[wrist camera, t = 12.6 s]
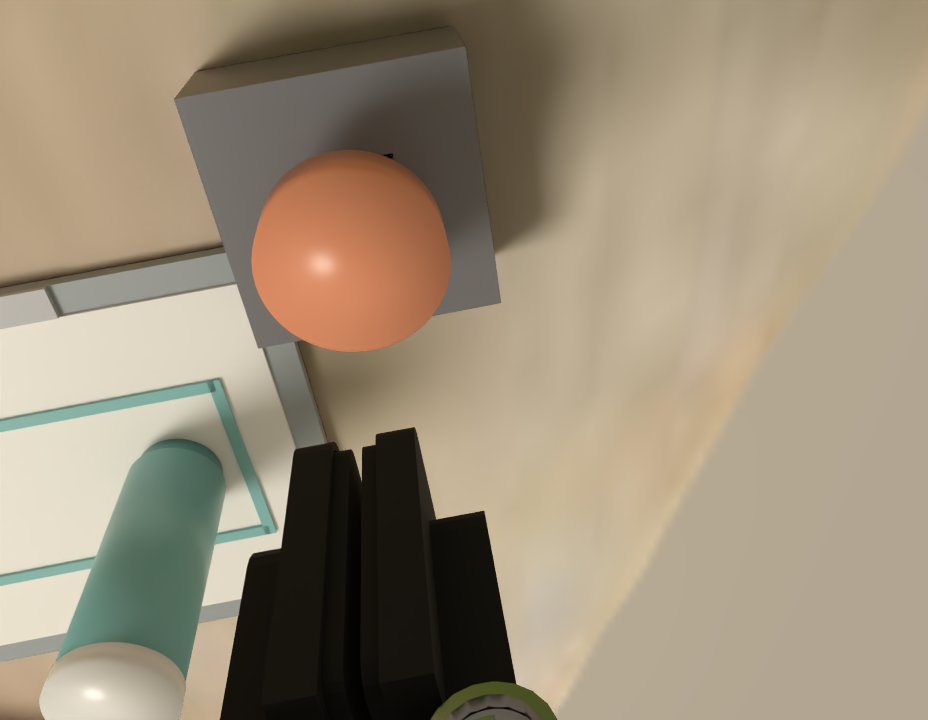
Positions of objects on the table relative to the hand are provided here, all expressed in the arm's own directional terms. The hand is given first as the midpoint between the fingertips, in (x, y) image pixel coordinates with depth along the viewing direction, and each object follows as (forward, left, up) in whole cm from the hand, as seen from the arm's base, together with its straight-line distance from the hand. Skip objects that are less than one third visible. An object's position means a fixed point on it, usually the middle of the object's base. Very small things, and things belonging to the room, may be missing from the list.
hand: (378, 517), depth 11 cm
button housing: (0, 0, -14) cm, 14 cm away
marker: (-8, -9, -14) cm, 18 cm away
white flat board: (-12, -9, -14) cm, 21 cm away
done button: (0, 0, -12) cm, 12 cm away
